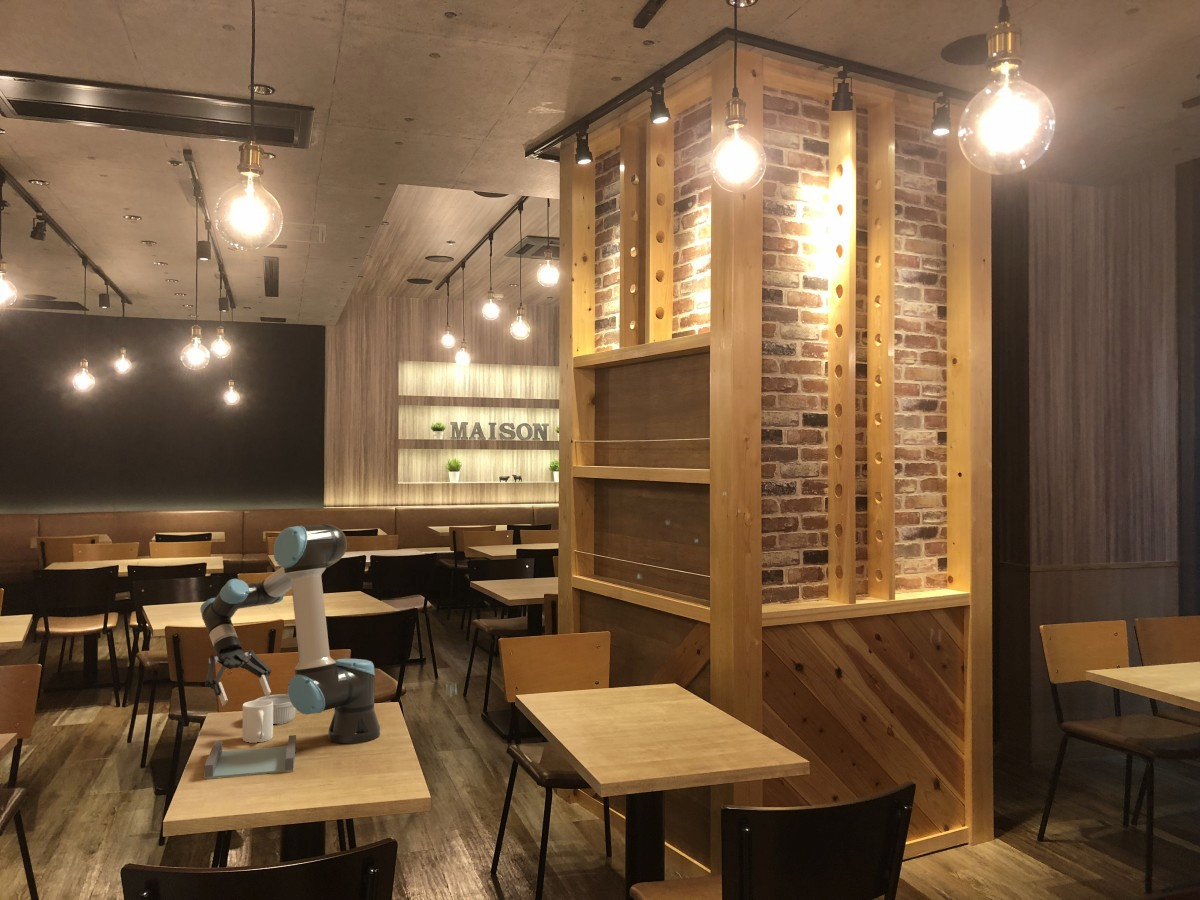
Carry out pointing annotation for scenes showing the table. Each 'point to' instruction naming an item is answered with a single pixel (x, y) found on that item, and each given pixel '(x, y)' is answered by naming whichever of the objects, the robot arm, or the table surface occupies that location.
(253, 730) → the mug
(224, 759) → the tray with side rails
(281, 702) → the ramekin
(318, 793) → the table surface
